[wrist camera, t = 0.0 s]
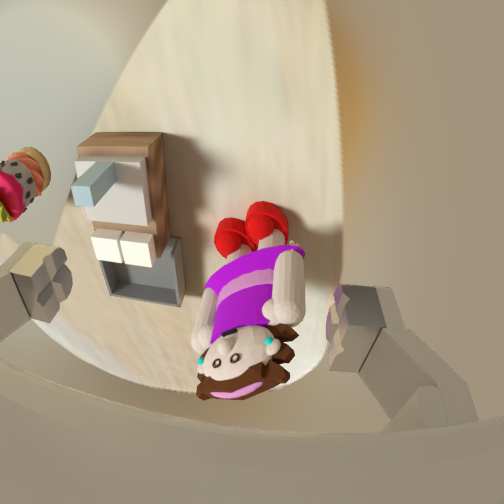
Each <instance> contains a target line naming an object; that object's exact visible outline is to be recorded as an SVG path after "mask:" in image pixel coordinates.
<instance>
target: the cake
mask: <svg viewBox="0 0 504 504" xmlns="http://www.w3.org/2000/svg"><path fill="white" fill-rule="evenodd" d="M50 179H51V172H50V168H49V165H48V162H47V160H46V159H45V157H44V156H43V155H42V154H41V153H40V152H39V151H38V150H37V149H34V148H32V147H25V148H23V149H21V150H20V151H19V152H16V153H12V154H11V155H10V156H9V157H8V158H7V159H6V161H2V162H1V164H0V221H1V222H5V221H8V222H11V221H14V220H16V219H17V218H18V217H19V216H20V215H21V214H22V213H23V212H25V210H26V209H27V208H26V207H27V206H28V205H29V204H30V203H32V202H33V200H34V198H35V197H36V196H39V195H41V192H42V191H43V190H44V189H45V188H46V187H47V186H48V185H49V182H50Z"/></svg>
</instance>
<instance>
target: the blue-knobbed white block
mask: <svg viewBox="0 0 504 504" xmlns="http://www.w3.org/2000/svg"><path fill="white" fill-rule="evenodd" d="M74 163H75V168H76V173H77V178H78V179H77V180H76V181H75V182H74V183H73V184H72V185H71V190H72V194H73V198H74V202H75V206H83V207H84V209H85V213H86V217H87V220H91V221H101V222H111V223H121V224H130V225H140V226H148V225H149V223H150V222H151V220H152V214H151V206H150V197H149V188H148V179H147V169H146V158H145V157H141V156H80V157H79V158H78V159H77V160H75V161H74Z"/></svg>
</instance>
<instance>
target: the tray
mask: <svg viewBox="0 0 504 504" xmlns="http://www.w3.org/2000/svg"><path fill="white" fill-rule="evenodd" d="M99 262H100V266H101V269H102V272H103V275H104V278H105V282H106V285H107V288H108V291H109V294H110V295H111V296H117V297H122V298H128V299H133V300H139V301H145V302H151V303H157V304H163V305H169V306H176V307H181V304H182V301H183V298H184V295H185V292H186V287H185V278H184V268H183V257H182V246H181V238H177V237H170V239H169V241H168V243H167V245H166V247H165V249H164V252H163V254H162V256H161V258H156V260H155V262H154V264H153V266H152V267H145V266H137V265H131V264H125V262H124V260H123V262H122V263H117V262H110V261H103V260H99Z"/></svg>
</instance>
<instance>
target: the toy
mask: <svg viewBox="0 0 504 504" xmlns="http://www.w3.org/2000/svg"><path fill="white" fill-rule="evenodd" d="M287 241H288V221H287V219H286V216H285V214H284V213H283V212H282V211H281V210H280V209H279V208H278V207H276V206H275V205H273V204H272V203H268V202H264V201H261V202H255V203H254V204H252V205H251V206H250V207H249V209H248V212H247V216H246V222H243V221H241V220H240V219H236V218H225V219H223V220H222V221H220V222H219V225H218V228H217V230H216V233H215V237H214V243H215V246H216V248H217V250H218V251H219V253H220V254H221V255H222V256H223V257H224V258H226V259H227V260H226V264H225V265H224V266H223V267H222V268H220V269H219V270H218V271H217V272H216V273H214V274H213V275H212V276H211V277H210V279H209V280H208V282H207V283H206V285H205V291H204V293H203V296H202V300H201V303H200V307H199V310H198V314H197V318H196V321H195V325H194V329H193V333H192V336H191V345H192V347H193V349H194V350H195V351H196V352H198V353H199V354H202V355H201V357H200V358H199V359H198V367H197V371H198V376H197V377H198V379H199V380H200V381H201V383H200V384H199V385H198V386H197V392H196V395H197V396H198V397H199V398H200V399H202V400H206V399H210V398H216V399H231V400H245V399H247V398H250V397H252V396H254V395H257V394H259V393H262V392H264V391H266V390H269V389H271V388H273V387H275V386H277V385H279V384H280V383H286V382H287V381H288V380H289V379H290V373H289V372H288V371H287V370H285V369H284V368H283V367H282V366H280V365H279V364H282V363H289V362H290V361H291V360H292V359H293V357H294V356H295V353H294V350H293V349H292V348H290V347H289V346H288V345H287V344H285V343H283V342H288V341H293V340H294V339H296V338H297V337H298V336H299V335H298V334H297V333H296V332H295V331H294V330H293V329H292V328H291V327H295V326H297V325H298V324H299V323H300V322H301V321H302V320H303V318H304V316H305V274H304V255H305V253H304V250H303V249H302V248H301V247H300V245H299V244H298V243H296V244H295V242H294V241H293V240H292V241H290V242H289V245H286V244H287ZM257 246H258V250H257V251H256V248H257Z"/></svg>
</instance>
